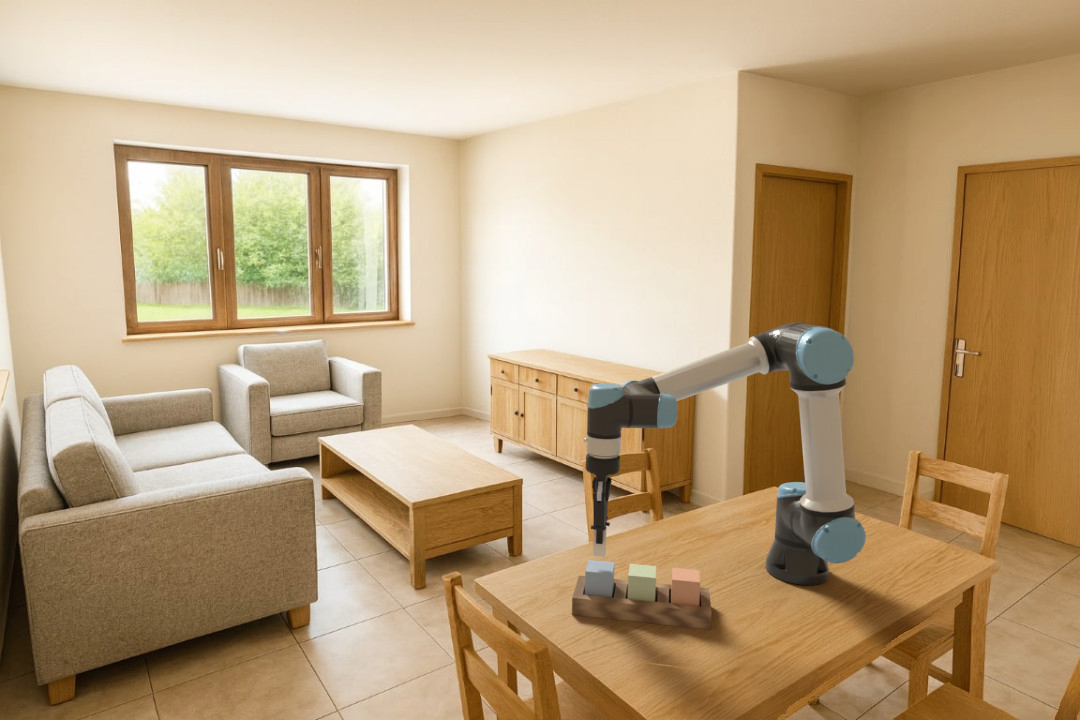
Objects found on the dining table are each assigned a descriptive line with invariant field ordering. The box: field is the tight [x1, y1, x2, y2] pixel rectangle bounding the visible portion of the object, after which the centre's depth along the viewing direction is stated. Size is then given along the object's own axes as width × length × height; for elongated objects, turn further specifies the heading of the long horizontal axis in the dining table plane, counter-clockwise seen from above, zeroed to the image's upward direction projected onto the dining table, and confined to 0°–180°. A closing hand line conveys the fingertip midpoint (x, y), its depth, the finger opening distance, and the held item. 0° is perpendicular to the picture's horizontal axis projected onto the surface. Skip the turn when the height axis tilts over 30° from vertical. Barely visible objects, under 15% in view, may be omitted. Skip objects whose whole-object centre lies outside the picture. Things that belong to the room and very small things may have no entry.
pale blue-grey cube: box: [584, 559, 615, 598], centre depth 158 cm, size 6×6×7 cm
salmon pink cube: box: [670, 567, 701, 606], centre depth 155 cm, size 6×6×7 cm
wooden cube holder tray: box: [571, 575, 712, 631], centre depth 157 cm, size 30×11×4 cm, turn 79°
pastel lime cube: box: [627, 563, 657, 602], centre depth 157 cm, size 6×6×7 cm
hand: (599, 555), depth 157 cm, fingers closed
